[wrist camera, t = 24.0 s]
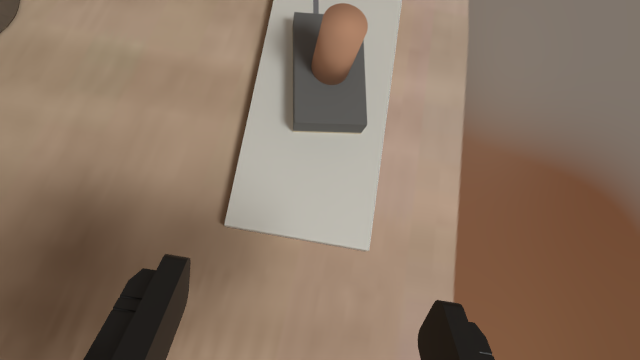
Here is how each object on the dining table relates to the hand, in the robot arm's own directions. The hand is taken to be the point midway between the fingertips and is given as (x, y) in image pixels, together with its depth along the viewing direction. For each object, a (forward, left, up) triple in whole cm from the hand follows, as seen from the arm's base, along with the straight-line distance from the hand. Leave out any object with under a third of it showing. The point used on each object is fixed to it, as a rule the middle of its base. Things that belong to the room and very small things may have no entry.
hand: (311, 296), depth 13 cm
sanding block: (-12, +13, -19) cm, 26 cm away
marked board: (-11, +12, -21) cm, 26 cm away
